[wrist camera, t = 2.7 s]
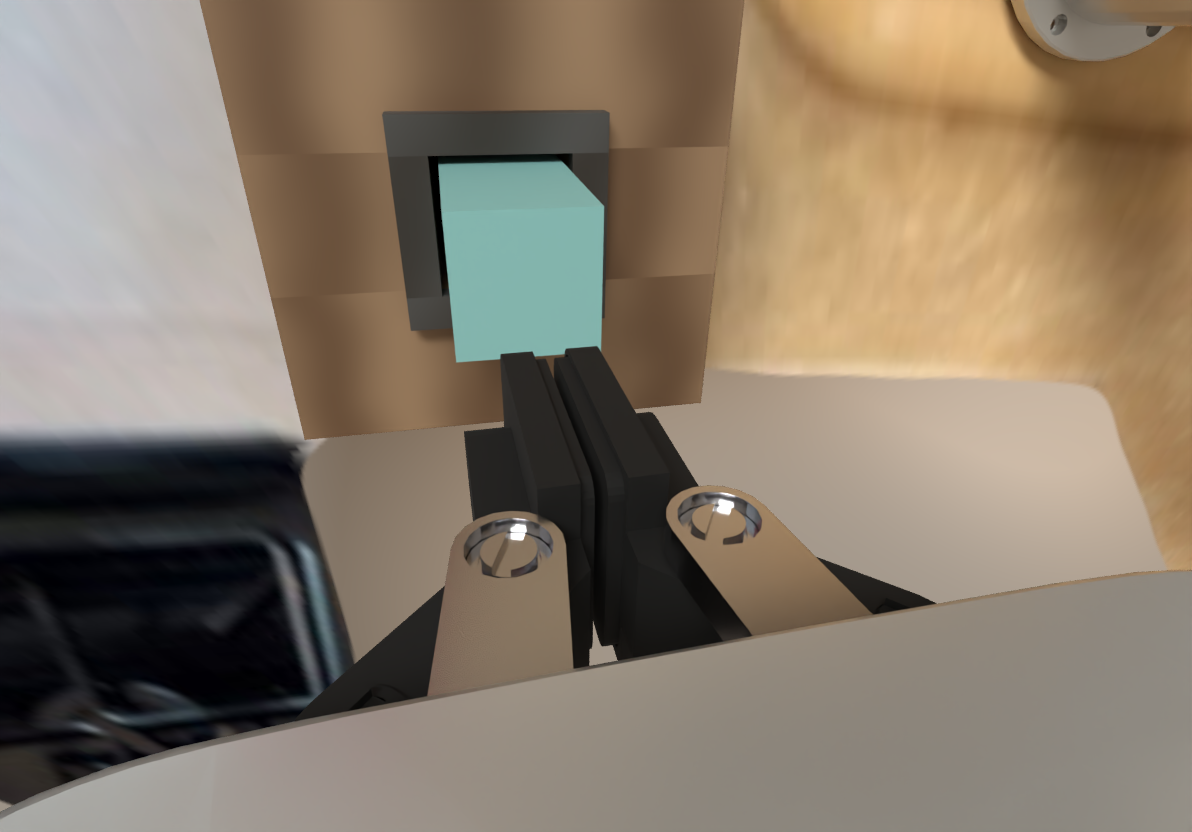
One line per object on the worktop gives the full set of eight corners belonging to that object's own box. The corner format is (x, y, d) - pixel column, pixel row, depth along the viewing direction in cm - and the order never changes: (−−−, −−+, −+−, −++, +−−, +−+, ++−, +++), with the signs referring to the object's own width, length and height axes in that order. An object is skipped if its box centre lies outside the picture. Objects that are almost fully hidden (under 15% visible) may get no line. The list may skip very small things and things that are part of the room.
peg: (546, 145, 25) (604, 206, 17) (548, 250, 27) (600, 351, 19) (437, 146, 24) (441, 211, 16) (447, 255, 26) (456, 362, 18)
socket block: (663, -32, 28) (760, -53, 20) (644, 322, 36) (707, 411, 28) (255, -47, 25) (171, -79, 17) (332, 344, 33) (301, 451, 25)
